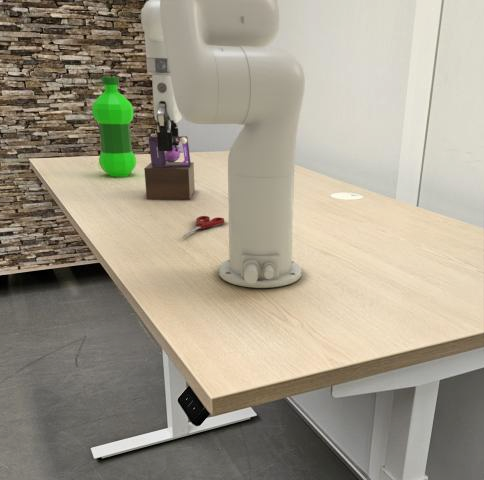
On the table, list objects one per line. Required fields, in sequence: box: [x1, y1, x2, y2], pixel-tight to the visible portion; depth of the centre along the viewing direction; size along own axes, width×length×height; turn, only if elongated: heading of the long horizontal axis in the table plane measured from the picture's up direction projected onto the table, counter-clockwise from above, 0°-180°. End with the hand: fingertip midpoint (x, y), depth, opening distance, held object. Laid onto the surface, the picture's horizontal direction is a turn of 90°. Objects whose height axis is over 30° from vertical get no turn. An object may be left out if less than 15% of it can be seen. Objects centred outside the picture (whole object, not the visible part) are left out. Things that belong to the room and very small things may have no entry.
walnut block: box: [143, 161, 196, 201], centre depth 137 cm, size 10×10×7 cm
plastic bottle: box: [91, 76, 137, 178], centre depth 154 cm, size 10×10×25 cm
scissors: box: [183, 215, 225, 237], centre depth 111 cm, size 5×14×1 cm, turn 164°
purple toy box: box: [147, 135, 191, 167], centre depth 135 cm, size 7×5×9 cm
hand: (168, 148), depth 134 cm, fingers open, 9 cm apart
